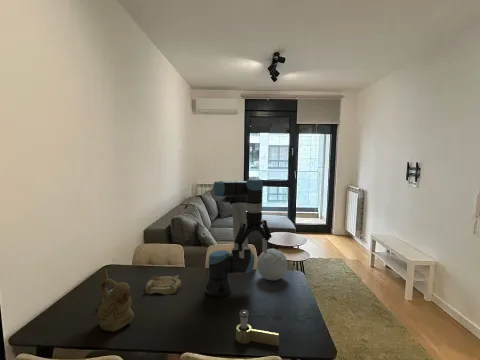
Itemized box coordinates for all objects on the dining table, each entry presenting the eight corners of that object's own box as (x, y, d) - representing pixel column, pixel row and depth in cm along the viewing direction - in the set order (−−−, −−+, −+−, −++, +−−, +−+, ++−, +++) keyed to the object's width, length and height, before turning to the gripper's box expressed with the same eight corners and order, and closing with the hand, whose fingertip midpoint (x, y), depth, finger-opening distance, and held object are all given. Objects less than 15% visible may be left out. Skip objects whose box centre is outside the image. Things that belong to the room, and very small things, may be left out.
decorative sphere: (293, 256, 202) (286, 248, 186) (286, 286, 195) (278, 281, 179) (266, 250, 211) (257, 242, 195) (259, 278, 204) (249, 273, 188)
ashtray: (170, 299, 167) (170, 290, 167) (135, 292, 175) (135, 284, 174) (191, 282, 190) (191, 274, 189) (158, 277, 197) (158, 269, 197)
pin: (237, 338, 132) (237, 311, 131) (244, 335, 134) (245, 308, 133) (242, 342, 129) (242, 315, 128) (250, 339, 131) (250, 312, 130)
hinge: (228, 339, 131) (228, 328, 131) (245, 319, 147) (246, 309, 146) (273, 353, 122) (273, 341, 122) (286, 330, 138) (286, 320, 137)
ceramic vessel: (112, 340, 130) (110, 283, 128) (85, 326, 140) (84, 273, 138) (143, 321, 144) (143, 271, 142) (117, 310, 154) (116, 262, 152)
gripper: (236, 215, 133) (235, 262, 135) (279, 210, 147) (278, 252, 149) (227, 212, 139) (227, 257, 141) (269, 207, 153) (268, 248, 155)
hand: (253, 255), depth 145 cm, fingers open, 13 cm apart
